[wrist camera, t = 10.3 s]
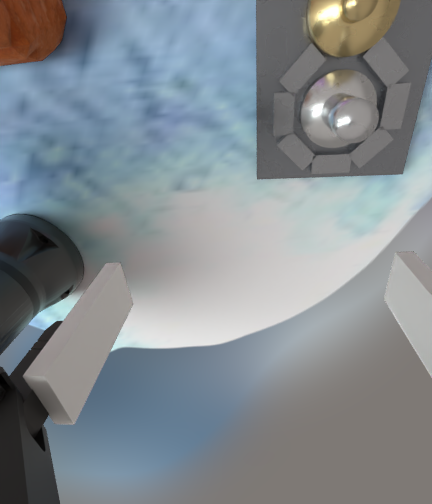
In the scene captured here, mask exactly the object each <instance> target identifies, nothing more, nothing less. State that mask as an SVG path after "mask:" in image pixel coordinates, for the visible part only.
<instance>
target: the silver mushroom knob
mask: <svg viewBox="0 0 432 504" xmlns="http://www.w3.org/2000/svg"><path fill="white" fill-rule="evenodd" d="M376 106H377V96H376V91H375V88H374V86H373V84H372V83H371V81H370V80H369V79H368V78H367V77H366V76H365V75H363V74H362V73H360V72H358V71H354V70H346V69H343V70H334V71H331V72H328V73H326V74H324V75H322V76H321V77H319V78H318V79H317V80H316V81H315V82H314V83H313V84H312V85H311V86H310V87H309V88H308V90H307V92H306V93H305V95H304V97H303V100H302V103H301V107H300V121H301V125H302V128H303V130H304V132H305V133H306V135H307V136H308V137H309V139H310V140H311V141H313V142H314V143H315V144H317V145H319V146H322V147H326V148H338V147H342V146H345V145H348V144H350V143H358V142H361V141H363V140H365V139H367V138H368V137H369V136H370V135H371V134H372V133H373V132H374V130H375V129H376V127H377V124H378V120H379V113H378V110H377V108H376Z"/></svg>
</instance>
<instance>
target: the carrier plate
mask: <svg viewBox="0 0 432 504" xmlns="http://www.w3.org/2000/svg"><path fill="white" fill-rule="evenodd" d="M308 3H309V0H256V48H257V179H278V178H307V177H336V176H364V175H393V174H403V170H404V166H405V162H406V158H407V154H408V150H409V146H410V142H411V138H412V134H413V130H414V126H415V122H416V118H417V114H418V110H419V106H420V102H421V98H422V94H423V90H424V86H425V82H426V78H427V74H428V70H429V66H430V62H431V58H432V0H401V1H400V5H399V9H398V12H397V15H396V17H395V19H394V21H393V23H392V25H391V26H390V28H389V29H388V31H387V32H386V34H385V35H384V36H383V37H382V38H381V39H380V40H379V41H378V42H377V43H376V44H375V45H374V46H372V47H371V48H369V49H368V50H366V51H364V52H362V53H360V54H357V55H354V56H348V57H342V58H335V57H330V56H327V55H325V54H323V53H321V52H320V51H319V50H318V49H317V48H316V47H315V46H314V45H313V43H312V41H311V39H310V37H309V34H308V30H307V24H306V14H307V7H308ZM343 69H346V70H354V71H358V72H360V73H362V74H363V75H365V76H366V77H367V78H368V79H369V80H370V81H371V83H372V84H373V86H374V88H375V91H376V96H377V106H376V108H377V110H378V113H379V120H378V124H377V127H376V129H375V130H374V132H373V133H372V134H371V135H370V136H369V137H368V138H367V139H365V140H363V141H361V142H358V143H350V144H348V145H345V146H342V147H338V148H326V147H322V146H319V145H317V144H315V143H314V142H313V141H311V140H310V139H309V137H308V136H307V135H306V133H305V132H304V130H303V128H302V125H301V121H300V107H301V103H302V100H303V97H304V95H305V93H306V92H307V90H308V88H309V87H310V86H311V85H312V84H313V83H314V82H315V81H316V80H317V79H318V78H319V77H321V76H322V75H324V74H326V73H328V72H331V71H334V70H343Z"/></svg>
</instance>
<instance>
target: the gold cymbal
mask: <svg viewBox="0 0 432 504" xmlns="http://www.w3.org/2000/svg"><path fill="white" fill-rule="evenodd" d="M400 1H401V0H309V3H308V7H307V14H306V24H307V30H308V34H309V37H310V39H311V41H312V43H313V45H314V46H315V47H316V48H317V49H318V50H319V51H320V52H321V53H323V54H325V55H327V56H330V57H335V58H342V57H348V56H354V55H357V54H360V53H362V52H364V51H366V50H368V49H369V48H371V47H372V46H374V45H375V44H376V43H377V42H378V41H379V40H380V39H381V38H382V37H383V36H384V35H385V34H386V32H387V31H388V29H389V28H390V26H391V25H392V23H393V21H394V19H395V17H396V15H397V12H398V9H399V5H400Z"/></svg>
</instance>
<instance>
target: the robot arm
mask: <svg viewBox="0 0 432 504" xmlns="http://www.w3.org/2000/svg"><path fill="white" fill-rule="evenodd" d="M83 273H84V267H83V262H82V258H81V256H80V254H79V251H78V250H77V248H76V247H75V245H74V244H73V242H72V241H71V240H70V239H69V238H68V237H67V236H66V235H65V234H64V233H63V232H62V231H61V230H59V229H58V228H57V227H55V226H54V225H52V224H50V223H49V222H47V221H45V220H42V219H40V218H37V217H34V216H30V215H23V214H16V215H10V216H7V217H5V218H3V219H1V220H0V355H1V354H2V353H3V351H4V350H5V349H6V348H7V347H8V346H9V345H10V344H11V342H12V341H13V340H14V339H15V338H16V337H17V336H18V335H19V334H20V332H21V331H22V330H23V329H24V328H25V327H26V326H27V325H28V324H29V322H30V321H31V320H32V319H33V318H34V317H35V316H36V315H37V314H38V313H39V312H41V311H43V310H44V309H46V308H48V307H50V306H52V305H54V304H55V303H57V302H59V301H61V300H63V299H65V298H66V297H68V296H69V295H70V294H71V293H72V292H73V291H74V290H75V289H76V288H77V286H78V285H79V284H80V282H81V280H82V278H83ZM384 300H385V302H386V303H387V305H388V307H389V308H390V310H391V312H392V313H393V315H394V317H395V318H396V320H397V322H398V323H399V325H400V327H401V328H402V330H403V331H404V333H405V335H406V336H407V338H408V339H409V341H410V343H411V345H412V346H413V348H414V350H415V351H416V353H417V354H418V356H419V358H420V359H421V361H422V363H423V364H424V366H425V367H426V369H427V371H428V372H429V374H430V376H431V377H432V271H431V269H430V268H429V267H428V266H427V265H426V264H425V263H424V262H423V261H422V260H421V259H420V258H419V257H418V256H417V255H416V253H414V251H409V252H395V255H394V259H393V264H392V268H391V272H390V276H389V280H388V284H387V288H386V292H385V296H384ZM132 306H133V301H132V298H131V295H130V291H129V288H128V285H127V282H126V279H125V276H124V273H123V269H122V266H121V263H106V264H105V265H104V267H103V268H102V269H101V271H100V272H99V273H98V275H97V276H96V277H95V279H94V280H93V281H92V283H91V284H90V286H89V287H88V288H87V290H86V291H85V292H84V294H83V295H82V296H81V298H80V299H79V300H78V302H77V303H76V304H75V306H74V307H73V309H72V310H71V311H70V313H69V314H68V315H67V317H66V318H65V319H64V321H56V322H55V323H54V324H52V325H51V326H50V327H49V328H47V329H46V330H45V331H44V333H43V334H42V335H41V336H40V338H39V339H38V342H36V343H35V344H34V346H33V347H32V348H31V350H29V352H28V353H27V354H26V356H25V357H24V358H23V359H22V361H21V362H20V363H19V364H18V366H17V367H16V368H15V370H14V371H13V372H12V373H11V375H10V376H8V374H7V373H6V372H5V370H4V369H3V368H2V367H0V504H60V501H59V495H58V490H57V485H56V479H55V475H54V469H53V464H52V458H51V453H50V448H49V443H48V437H47V431H46V429H45V427H44V425H43V424H44V422H45V420H46V419H47V417H48V415H49V416H50V418H51V419H52V421H53V422H54V423H55V424H68V425H74V424H75V422H76V420H77V418H78V416H79V414H80V412H81V410H82V408H83V406H84V404H85V402H86V400H87V397H88V395H89V394H90V391H91V389H92V387H93V385H94V383H95V381H96V379H97V377H98V375H99V373H100V371H101V369H102V367H103V365H104V363H105V361H106V359H107V357H108V355H109V353H110V351H111V349H112V347H113V345H114V343H115V340H116V338H117V336H118V334H119V332H120V330H121V328H122V326H123V324H124V322H125V320H126V318H127V316H128V314H129V312H130V310H131V308H132Z"/></svg>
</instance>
